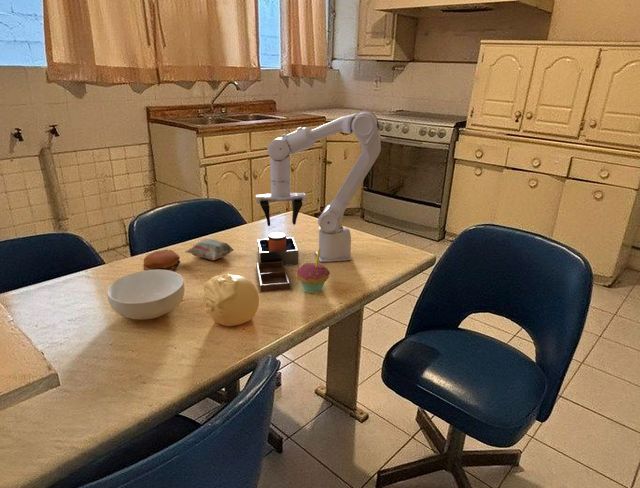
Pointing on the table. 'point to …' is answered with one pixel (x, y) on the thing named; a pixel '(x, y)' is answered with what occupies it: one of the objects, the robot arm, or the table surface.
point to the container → (277, 241)
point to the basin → (278, 252)
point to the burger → (161, 260)
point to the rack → (272, 276)
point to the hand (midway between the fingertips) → (281, 224)
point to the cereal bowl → (146, 294)
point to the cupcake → (313, 276)
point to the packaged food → (210, 249)
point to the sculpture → (231, 299)
